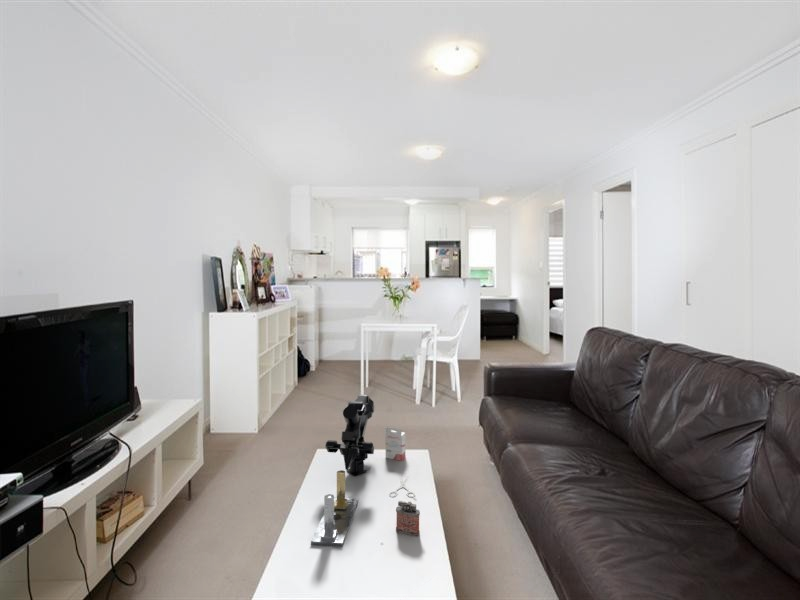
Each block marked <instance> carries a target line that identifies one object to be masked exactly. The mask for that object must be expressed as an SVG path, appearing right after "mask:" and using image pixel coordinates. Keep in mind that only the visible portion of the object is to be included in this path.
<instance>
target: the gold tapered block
mask: <svg viewBox="0 0 800 600" xmlns="http://www.w3.org/2000/svg"><path fill="white" fill-rule="evenodd" d="M336 498H337V500H336V502H335V504H334V509H346V508H347V505H348V501H345V498H346V471H345V470H338V471H336Z"/></svg>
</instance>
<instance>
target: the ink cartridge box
mask: <svg viewBox="0 0 800 600" xmlns="http://www.w3.org/2000/svg"><path fill="white" fill-rule="evenodd" d="M385 458H386V459H390V460H396V461H403V460H404V459H405V458H406V432H403V431H402V429H401V428H396V427H388V426H386V427H385Z"/></svg>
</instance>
